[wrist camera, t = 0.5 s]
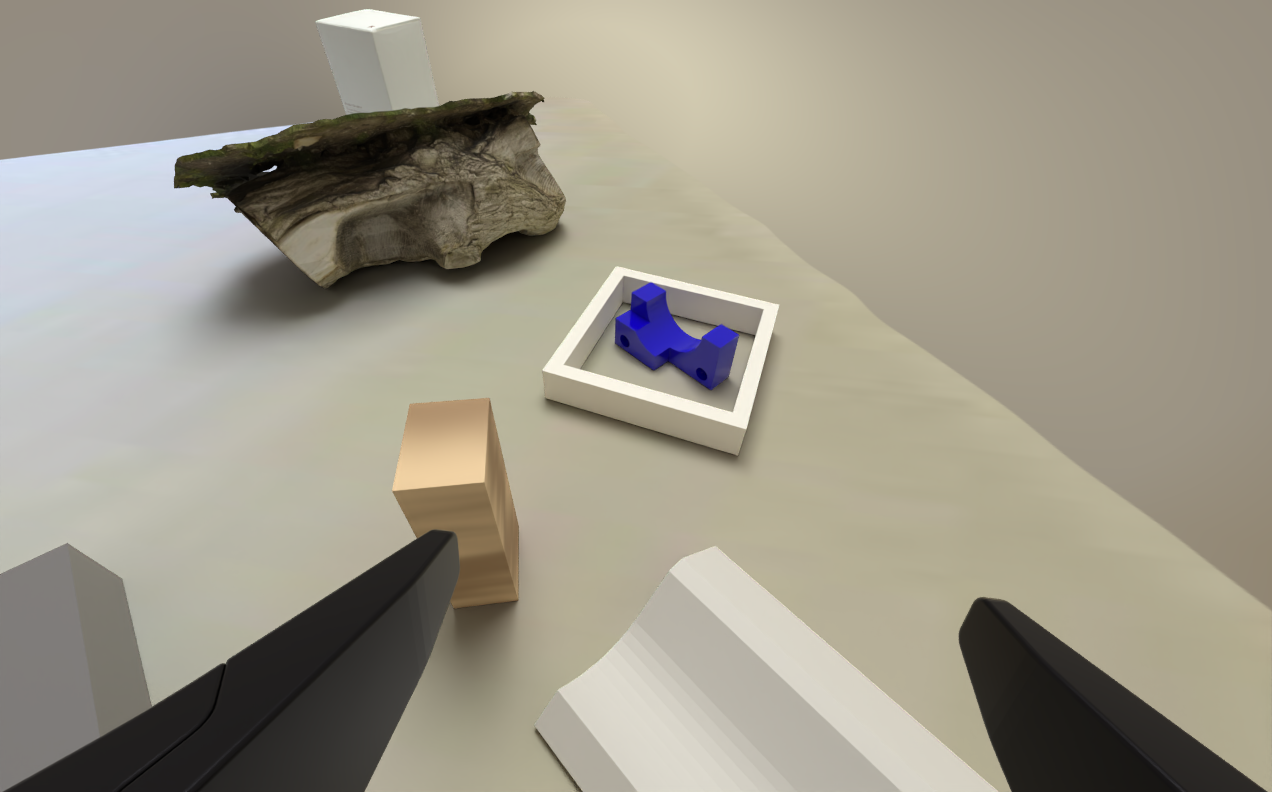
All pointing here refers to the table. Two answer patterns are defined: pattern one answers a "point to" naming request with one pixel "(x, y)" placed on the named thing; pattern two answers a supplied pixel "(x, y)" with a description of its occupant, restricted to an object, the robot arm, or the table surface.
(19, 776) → the end cap
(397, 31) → the supplement box
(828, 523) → the table surface
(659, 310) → the cable holder
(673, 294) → the tray
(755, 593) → the crown molding
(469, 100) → the hollow geode rock
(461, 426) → the tan wooden block
